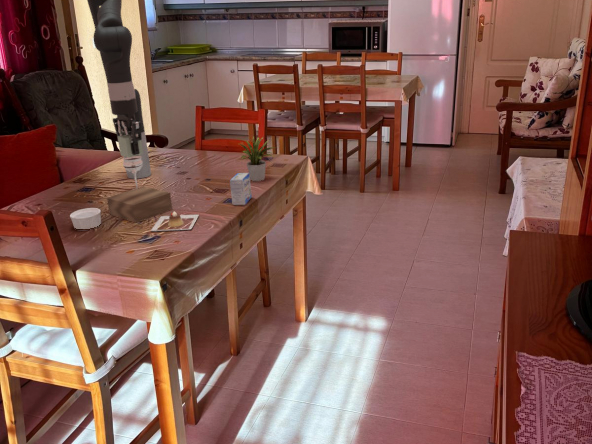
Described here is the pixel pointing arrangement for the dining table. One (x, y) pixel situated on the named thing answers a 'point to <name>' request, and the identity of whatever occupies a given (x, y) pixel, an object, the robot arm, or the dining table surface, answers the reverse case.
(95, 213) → the ramekin
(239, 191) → the medicine box
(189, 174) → the dining table surface
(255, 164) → the house plant
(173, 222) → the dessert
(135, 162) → the wineglass
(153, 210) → the walnut block
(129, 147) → the sage block
